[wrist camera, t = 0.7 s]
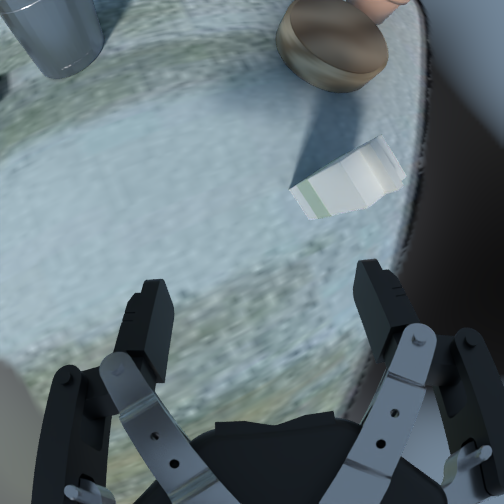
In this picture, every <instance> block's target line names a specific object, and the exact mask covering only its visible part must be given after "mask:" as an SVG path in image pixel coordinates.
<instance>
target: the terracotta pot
mask: <svg viewBox="0 0 504 504" xmlns="http://www.w3.org/2000/svg"><path fill="white" fill-rule="evenodd" d="M409 1H410V0H346V2H347V3H349V4H351V5H353V6H355V7H356V8H358V9H359V10H361V11H362V12H363V13H365V14H366V15H367V16H368V17H369V18H370V19H371V20H372V21H373V22H374V23H375V25H379V24H381V23H383V22H384V21H385V20H386V19H387V18H388V17H389V16H390V15H391V14H392V13H393V12H394V11H395V10H396V9H397V8H398V7H399V6H400V5H405V4H407V3H408V2H409Z"/></svg>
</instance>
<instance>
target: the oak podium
mask: <svg viewBox="0 0 504 504" xmlns="http://www.w3.org/2000/svg"><path fill="white" fill-rule="evenodd" d="M276 45H277V49H278V52H279V54H280V56H281V58H282V59H283V61H284V62H285V63H286V65H287V66H288V67H289V68H290V69H291V70H292V71H293V72H294V73H295V74H296V75H297V76H299V77H300V78H301V79H303V80H304V81H306V82H308V83H309V84H311V85H313V86H315V87H318V88H320V89H323V90H326V91H330V92H335V93H349V92H353V91H356V90H358V89H360V88H362V87H363V86H364V85H365V84H367V83H368V82H369V81H370V80H371V79H373V78H374V77H375V76H376V75H377V74H379V73H380V72H381V71H382V70H383V69H384V68H385V66H386V64H387V61H388V47H387V44H386V41H385V39H384V37H383V35H382V33H381V31H380V30H379V29H378V27H377V26H376V25H375V23H374V22H373V21H372V20H371V19H370V18H369V17H368V16H367V15H366V14H365V13H363V12H362V11H361V10H359V9H358V8H356V7H355V6H353V5H351V4H349V3H347V2H345V1H343V0H295V1H293V2H292V3H291V4H290V6H289V7H288V9H287V11H286V13H285V15H284V17H283V19H282V21H281V23H280V25H279V28H278V30H277V33H276Z"/></svg>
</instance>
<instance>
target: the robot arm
mask: <svg viewBox="0 0 504 504" xmlns="http://www.w3.org/2000/svg"><path fill="white" fill-rule="evenodd" d="M0 16H1V17H2V19H3V20H4V21H5V23H6V24H7V26H8V27H9V29H10V30H11V31H12V33H13V34H14V35H15V37H16V38H17V40H18V41H19V42H20V44H21V45H22V46H23V48H24V49H25V51H26V52H27V53H28V55H29V56H30V57H31V59H32V60H33V61H34V63H35V64H36V65H37V67H38V68H39V69H40V71H41V72H42V73H43V74H44V75H45V76H47V77H49V78H53V79H61V78H65V77H69V76H71V75H74V74H76V73H78V72H80V71H81V70H83V69H84V68H86V67H87V66H88V65H89V64H90V63H91V62H92V61H93V60H95V58H96V57H97V56H98V54H99V53H100V51H101V49H102V47H103V43H104V35H103V32H102V29H101V26H100V23H99V19H98V16H97V13H96V10H95V7H94V3H93V0H0ZM353 296H354V301H355V304H356V307H357V309H358V312H359V315H360V318H361V320H362V323H363V326H364V329H365V332H366V335H367V338H368V340H369V343H370V346H371V349H372V352H373V355H374V358H375V361H376V363H381V362H385V364H386V367H387V368H386V370H385V373H384V375H383V377H382V380H381V382H380V384H379V386H378V389H377V391H376V393H375V395H374V397H373V400H372V401H371V404H370V406H369V408H368V409H367V411H366V413H365V415H364V417H363V419H362V421H361V423H360V424H357V423H355V422H353V421H350V420H347V419H342V418H335V417H334V412H333V411H329V412H323V413H316V414H310V415H304V416H301V417H299V418H296V419H293V420H290V421H287V422H285V423H282V424H279V425H266V424H260V423H253V422H247V421H234V422H215V429H213V430H210V431H207V432H205V433H203V434H201V435H199V436H198V437H196V438H195V439H193V440H192V441H191V440H190V439H189V438H188V436H187V435H186V434H185V432H184V431H183V430H182V429H181V427H180V426H179V425H178V424H177V422H176V421H175V420H174V418H173V417H172V415H171V414H170V413H169V411H168V410H167V408H166V407H165V406H164V404H163V403H162V401H161V400H160V398H159V397H158V395H157V394H156V392H155V386H156V383H165V376H166V369H167V361H168V354H169V348H170V341H171V334H172V328H173V322H174V307H173V303H172V300H171V298H170V295H169V292H168V290H167V287H166V284H165V281H164V280H163V279H153V280H145V281H144V284H143V287H142V291H141V293H135V294H134V295H133V296H132V298H131V299H130V300H129V301H128V303H127V306H126V310H125V314H124V316H123V320H122V321H123V322H122V323H121V326H120V330H119V333H118V337H117V341H116V344H115V348H114V351H113V353H111V354H109V355H108V356H106V357H105V358H104V360H103V361H102V362H101V365H100V366H99V367H96V368H92V369H88V370H85V371H80V370H79V368H77V367H76V366H74V365H66V366H63V367H62V368H60V369H59V370H58V371H57V372H56V374H55V375H54V378H53V381H52V385H51V389H50V393H49V397H48V401H47V405H46V410H45V414H44V419H43V424H42V429H41V434H40V439H39V445H38V451H37V457H36V465H35V472H34V481H33V490H32V501H31V504H116V501H115V498H114V496H113V494H112V493H111V492H110V490H108V489H107V488H106V473H107V459H108V447H109V436H110V427H111V419H112V415H116V414H120V416H119V419H120V421H121V423H122V425H123V427H124V429H125V430H126V432H127V434H128V436H129V437H130V439H131V441H132V442H133V444H134V446H135V447H136V449H137V450H138V452H139V454H140V455H141V457H142V458H143V460H144V461H145V463H146V464H147V466H148V468H149V469H150V470H151V472H152V473H153V475H154V476H155V478H156V480H155V481H154V482H153V483H152V484H151V486H150V487H149V488H148V489H147V490H146V491H145V492H144V493H143V494H142V495H141V496H140V497H139V498H138V499H137V500H136V501H135V502H134V503H133V504H477V503H480V502H483V501H486V500H489V499H491V498H495V497H497V496H499V495H502V494H504V386H503V384H502V381H501V378H500V376H499V374H498V371H497V369H496V366H495V364H494V362H493V360H492V357H491V355H490V353H489V350H488V348H487V346H486V344H485V342H484V340H483V338H482V336H481V335H480V334H479V333H478V332H477V331H476V330H474V329H471V328H462V329H460V330H459V331H458V332H457V333H456V335H455V336H444V335H436V334H435V333H434V332H433V330H432V329H431V328H429V327H428V326H426V325H424V324H421V323H420V321H419V319H418V317H417V315H416V313H415V311H414V309H413V307H412V305H411V303H410V301H409V299H408V297H407V296H406V293H405V291H404V289H403V288H402V285H401V283H400V281H399V280H398V278H397V277H396V276H395V275H394V274H393V273H392V272H391V271H390V270H382V268H381V266H380V264H379V262H378V260H377V259H368V260H359V261H358V263H357V268H356V274H355V280H354V285H353ZM424 385H432V387H433V390H434V393H435V396H436V400H437V403H438V407H439V410H440V414H441V418H442V421H443V425H444V429H445V433H446V437H447V441H448V445H449V450H450V454H451V455H450V456H449V457H448V459H447V460H446V462H445V465H444V478H443V482H442V484H441V485H439V484H438V483H437V482H435V481H434V480H433V479H431V478H430V477H428V476H427V475H426V474H424V473H423V472H422V471H420V470H419V469H418V468H416V467H414V465H412V464H411V463H409V462H408V461H407V460H405V459H404V458H403V457H401V455H402V452H403V450H404V448H405V446H406V443H407V441H408V438H409V436H410V434H411V431H412V428H413V426H414V423H415V421H416V418H417V415H418V413H419V410H420V407H421V404H422V401H423V399H424V395H425V392H426V387H424Z"/></svg>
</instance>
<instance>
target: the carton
mask: <svg viewBox="0 0 504 504" xmlns="http://www.w3.org/2000/svg"><path fill="white" fill-rule="evenodd" d="M406 177H407V176H406V174H405V172H404V171H403V169H402V167H401V166H400V164H399V162H398V160H397V159H396V157H395V155H394V154H393V152H392V150H391V149H390V147H389V146H388V144H387V142H386V141H385V139H384V138H383V136H382V134H381V135H379V136H377V137H376V138H374V139H372V140H370V141H368V142H366V143H365V144H363V145H361V146H359V147H357V148H356V149H354V150H352V151H350V152H348V153H347V154H344V155H342V156H340V157H338V158H337V159H335V160H333V161H331V162H330V163H328V164H327V165H325V166H324V167H322V168H320V169H319V170H317V171H316V172H314V173H313V174H311V175H310V176H308V177H307V178H305V179H304V180H302V181H301V182H299V183H298V184H297V185H295V186H294V187H292V188H291V189H289V190H290V192H291V193H292V195H293V196H294V198H295V199H296V201H297V202H298V204H299V205H300V207H301V208H302V210H303V211H304V213H305V214H306V216H307V217H308V219H309V220H313V219H321V218H326V217H330V216H332V215H337V214H341V213H346V212H351V211H356V210H361V209H366V208H369V207H370V206H371V205H373V204H374V203H375V202H376V201H378V200H379V199H380V198H381V197H382V196H384V195H385V194H387V193H391V192H395V191H398V190H399V189H401V188H402V187H403V186H404V185H403V183H402V180H403V179H404V178H406Z"/></svg>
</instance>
